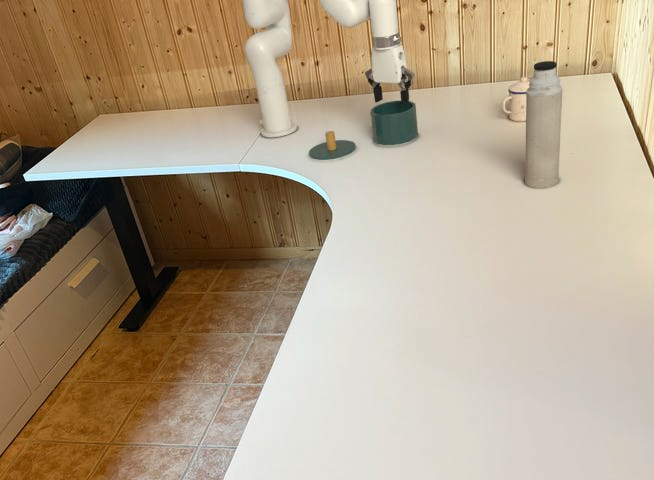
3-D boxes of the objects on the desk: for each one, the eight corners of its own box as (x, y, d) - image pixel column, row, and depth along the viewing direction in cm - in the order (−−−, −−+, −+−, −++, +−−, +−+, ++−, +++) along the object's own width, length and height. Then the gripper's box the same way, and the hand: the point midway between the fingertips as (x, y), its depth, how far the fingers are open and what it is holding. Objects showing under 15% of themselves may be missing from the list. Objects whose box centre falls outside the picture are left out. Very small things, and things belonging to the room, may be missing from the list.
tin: (365, 143, 208) (361, 112, 203) (394, 128, 215) (391, 98, 209) (397, 149, 200) (394, 117, 194) (427, 134, 206) (424, 103, 200)
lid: (300, 157, 207) (296, 137, 204) (333, 141, 214) (330, 121, 211) (331, 164, 198) (328, 144, 194) (365, 147, 205) (363, 127, 201)
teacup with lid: (528, 109, 210) (528, 71, 203) (545, 116, 203) (546, 76, 196) (494, 119, 207) (493, 80, 200) (510, 126, 200) (510, 86, 193)
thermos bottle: (526, 175, 171) (528, 59, 154) (559, 174, 168) (565, 56, 151) (523, 188, 165) (524, 69, 148) (556, 187, 162) (562, 66, 146)
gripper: (418, 37, 188) (423, 99, 198) (369, 37, 198) (376, 96, 208) (403, 45, 183) (408, 108, 194) (354, 44, 193) (361, 104, 204)
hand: (391, 102), depth 201 cm, fingers open, 9 cm apart
